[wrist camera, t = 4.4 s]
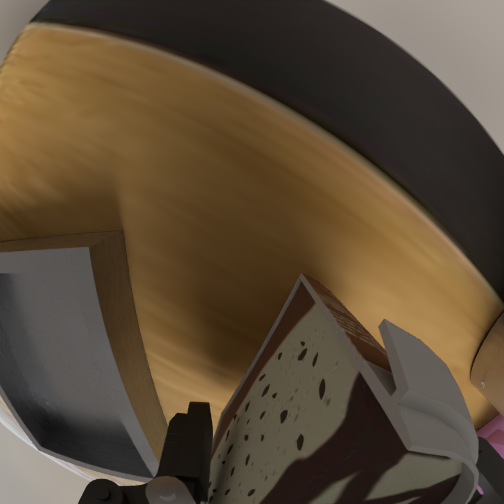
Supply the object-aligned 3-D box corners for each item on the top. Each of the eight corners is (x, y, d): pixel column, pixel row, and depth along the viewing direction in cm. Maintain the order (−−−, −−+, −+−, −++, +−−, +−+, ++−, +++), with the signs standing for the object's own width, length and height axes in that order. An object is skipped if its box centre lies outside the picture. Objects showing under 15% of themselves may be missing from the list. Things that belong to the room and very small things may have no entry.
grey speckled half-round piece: (301, 454, 14) (301, 585, 4) (212, 426, 14) (166, 566, 4) (422, 296, 11) (563, 420, 2) (316, 241, 11) (449, 406, 2)
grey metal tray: (123, 230, 12) (88, 247, 9) (177, 451, 16) (172, 486, 13) (-18, 243, 12) (-51, 256, 8) (52, 425, 16) (38, 450, 12)
